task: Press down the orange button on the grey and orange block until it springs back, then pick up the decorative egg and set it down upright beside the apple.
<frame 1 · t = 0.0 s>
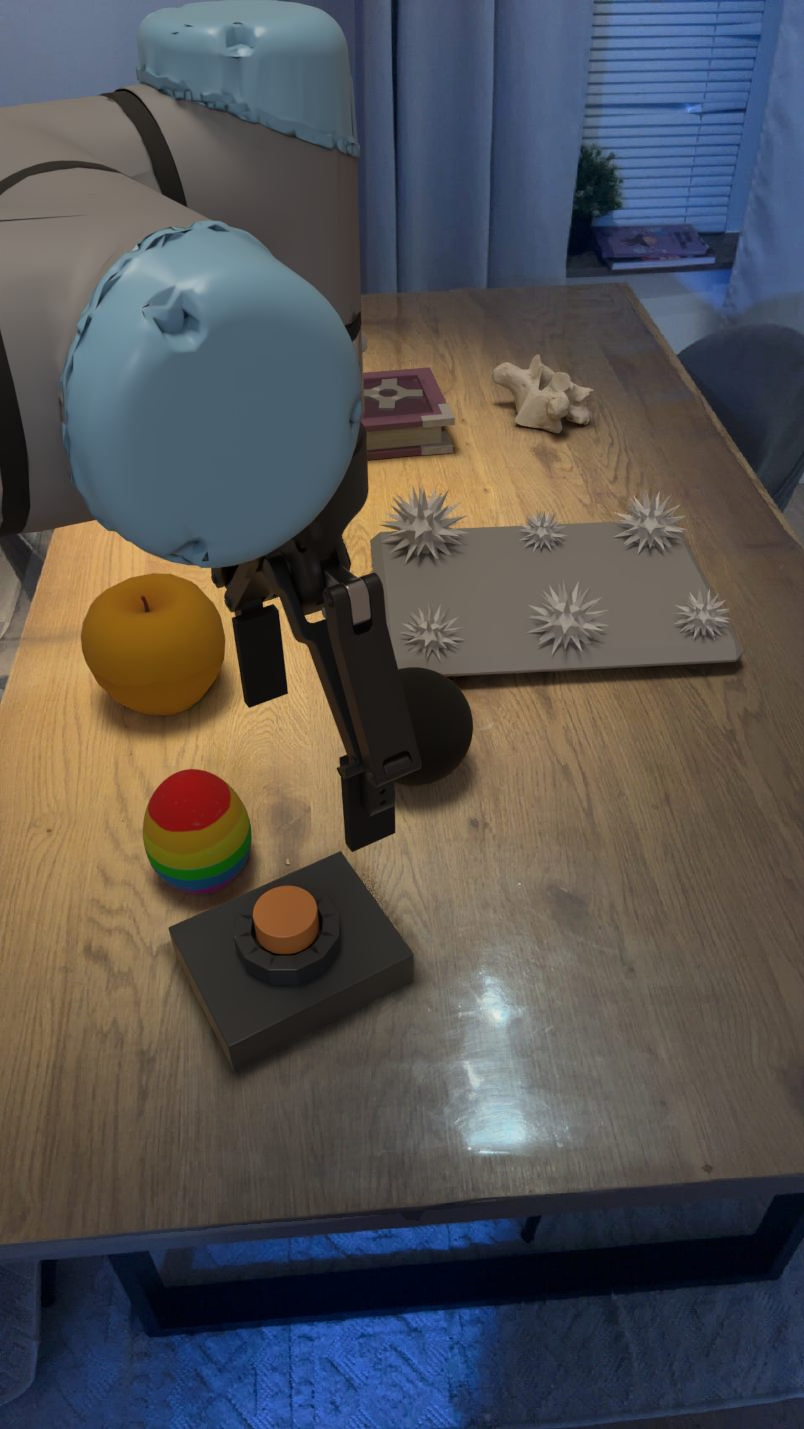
hand: (314, 763, 59), 21 cm above the table, tool pointing down, fingers open, 13 cm apart
speaker: (301, 519, 120), on the table
decorative ball: (414, 770, 89), on the table
decorative egg: (205, 868, 81), on the table
decorative tray: (541, 606, 107), on the table
apple: (167, 693, 97), on the table
decorative object: (542, 425, 138), on the table
stacking toy: (193, 401, 145), on the table
book: (349, 435, 136), on the table
orange button: (286, 919, 70), point 6 cm above the table, slide at 0.1 cm
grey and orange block: (292, 966, 74), on the table
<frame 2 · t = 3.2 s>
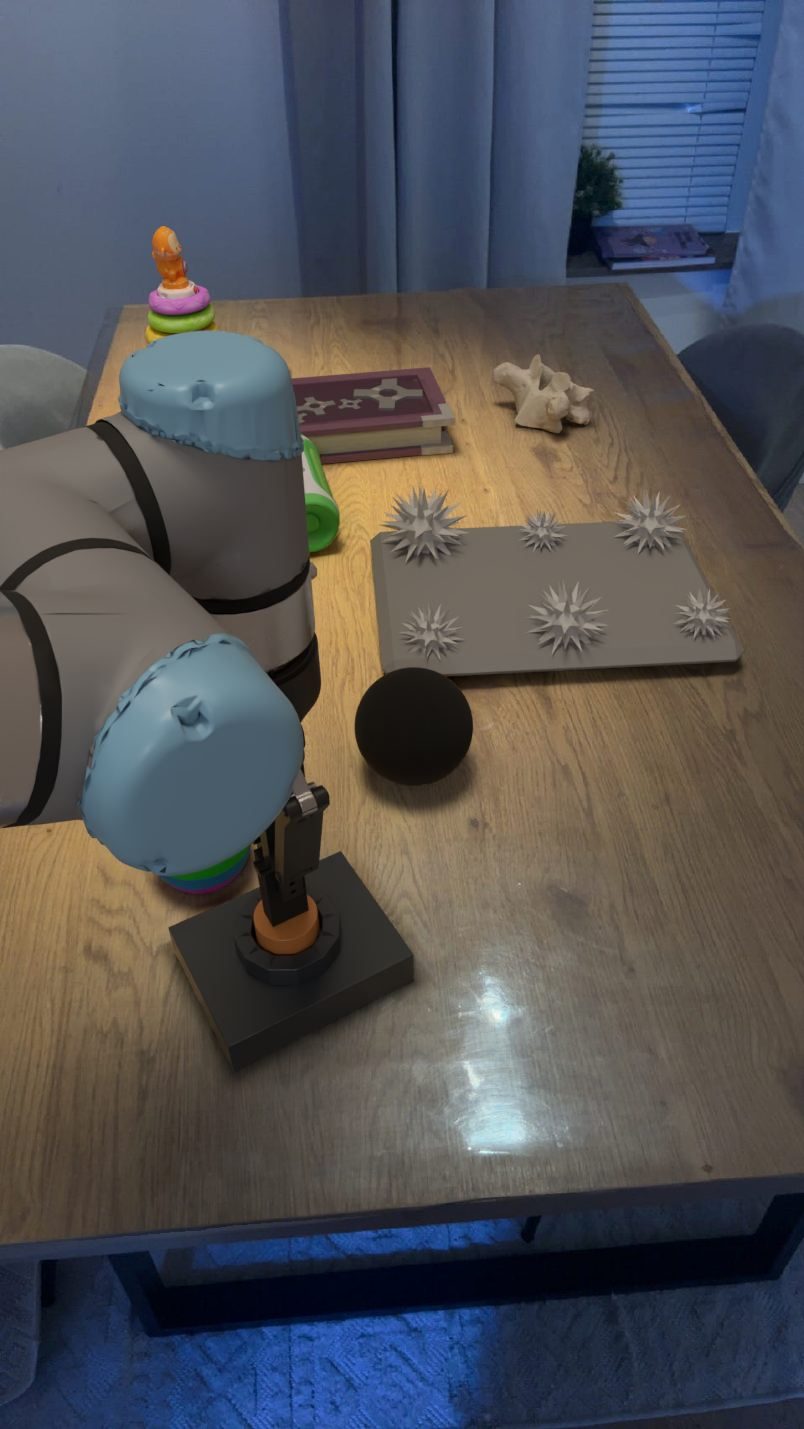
hand: (286, 910, 69), 7 cm above the table, tool pointing down, fingers closed
orange button: (286, 922, 70), point 5 cm above the table, slide at -0.3 cm, touching gripper
everything else where it was.
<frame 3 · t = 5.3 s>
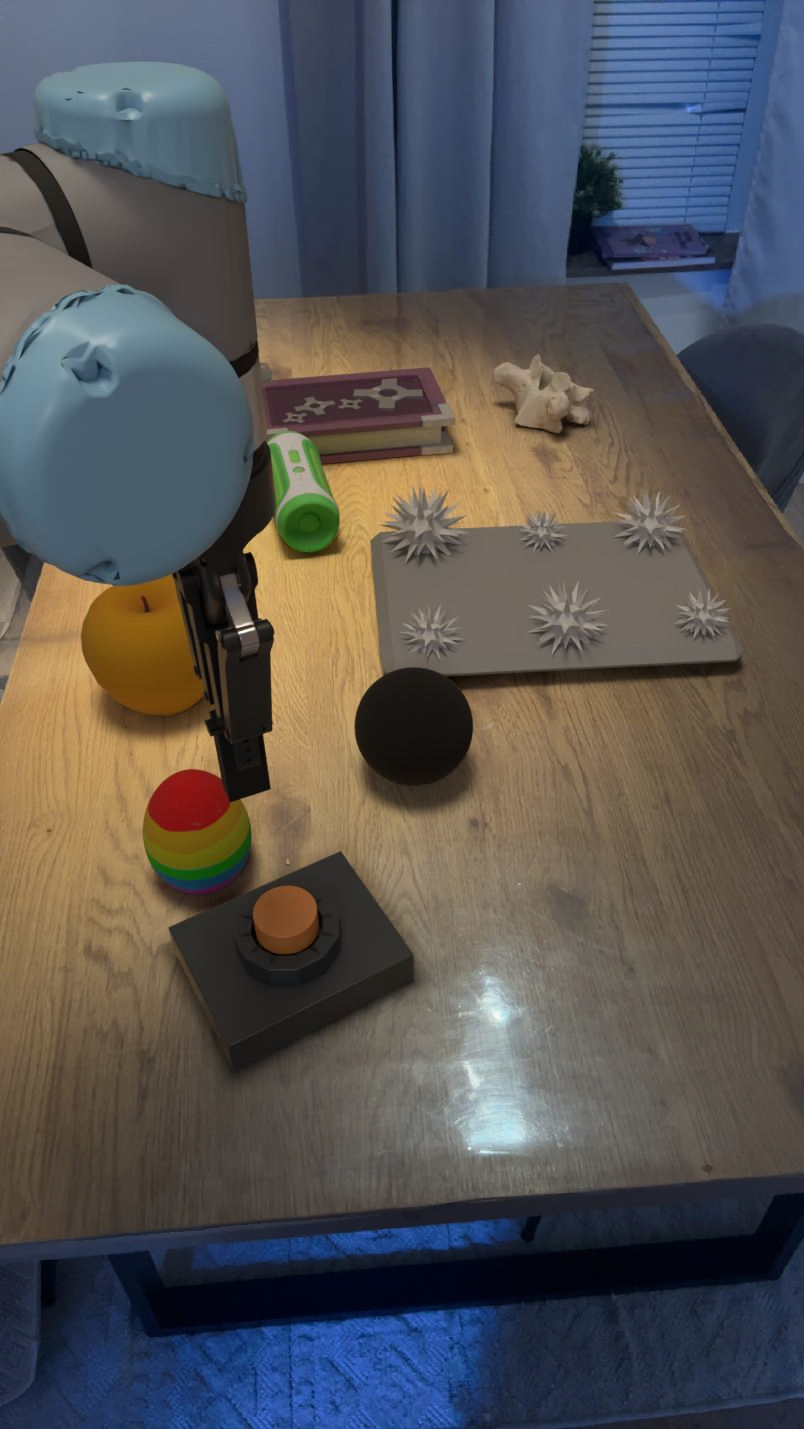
hand: (246, 787, 64), 16 cm above the table, tool pointing down, fingers closed
orange button: (286, 919, 70), point 6 cm above the table, slide at 0.1 cm
everything else where it was.
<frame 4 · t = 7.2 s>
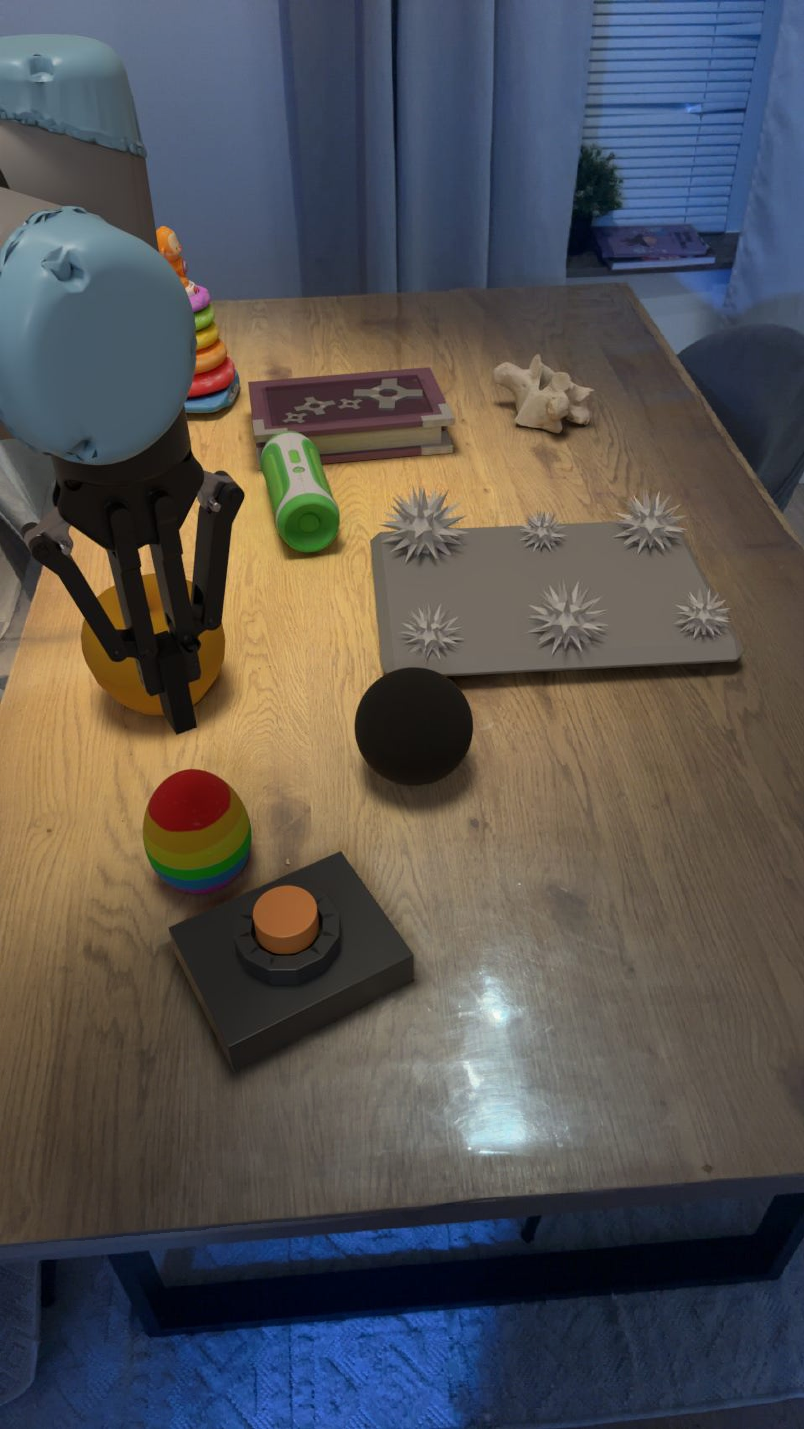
hand: (179, 719, 69), 17 cm above the table, tool pointing down, fingers closed
nothing on the table moved.
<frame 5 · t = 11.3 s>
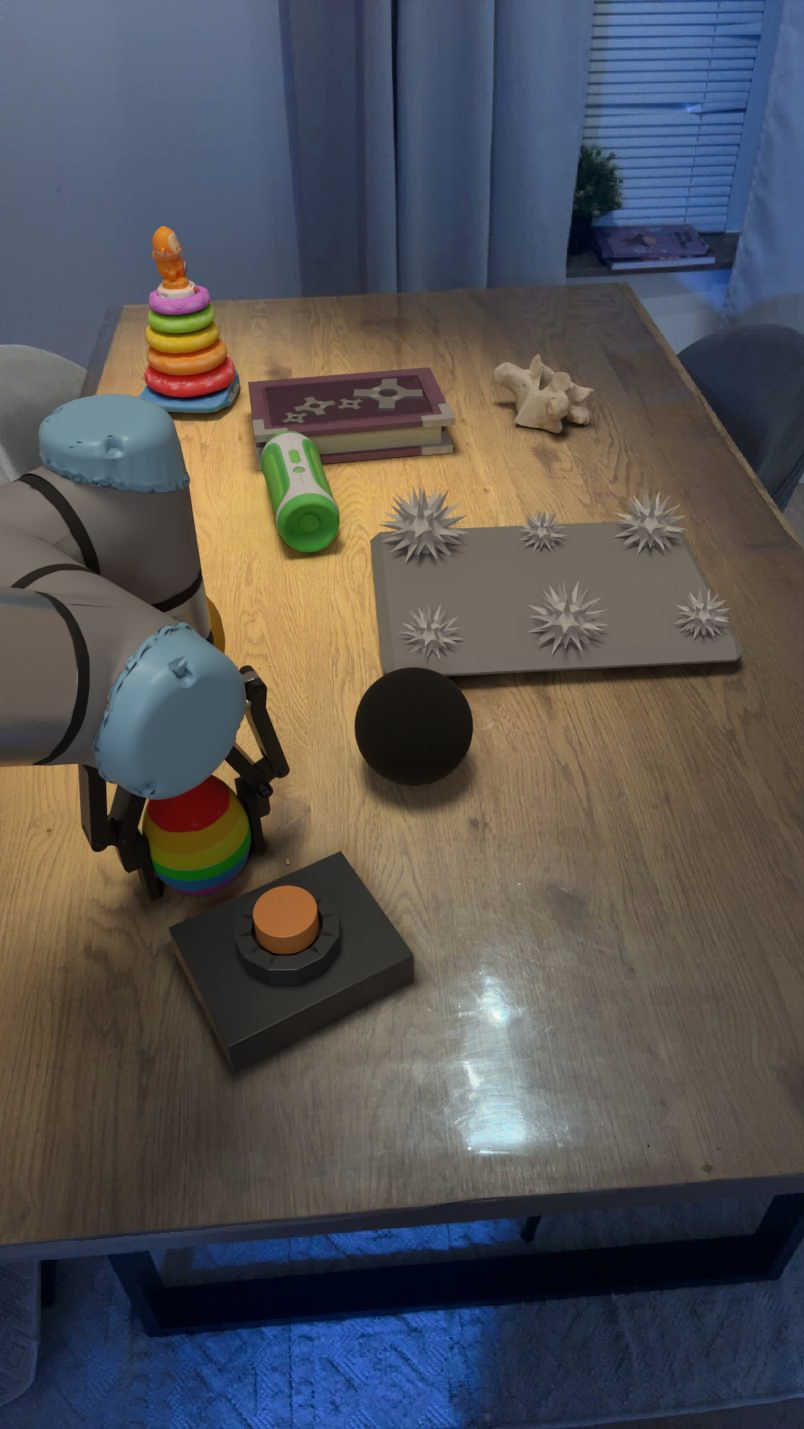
hand: (203, 865, 80), 0 cm above the table, tool pointing down, fingers closed on decorative egg, 8 cm apart
decorative egg: (204, 869, 81), on the table, touching gripper
everything else where it was.
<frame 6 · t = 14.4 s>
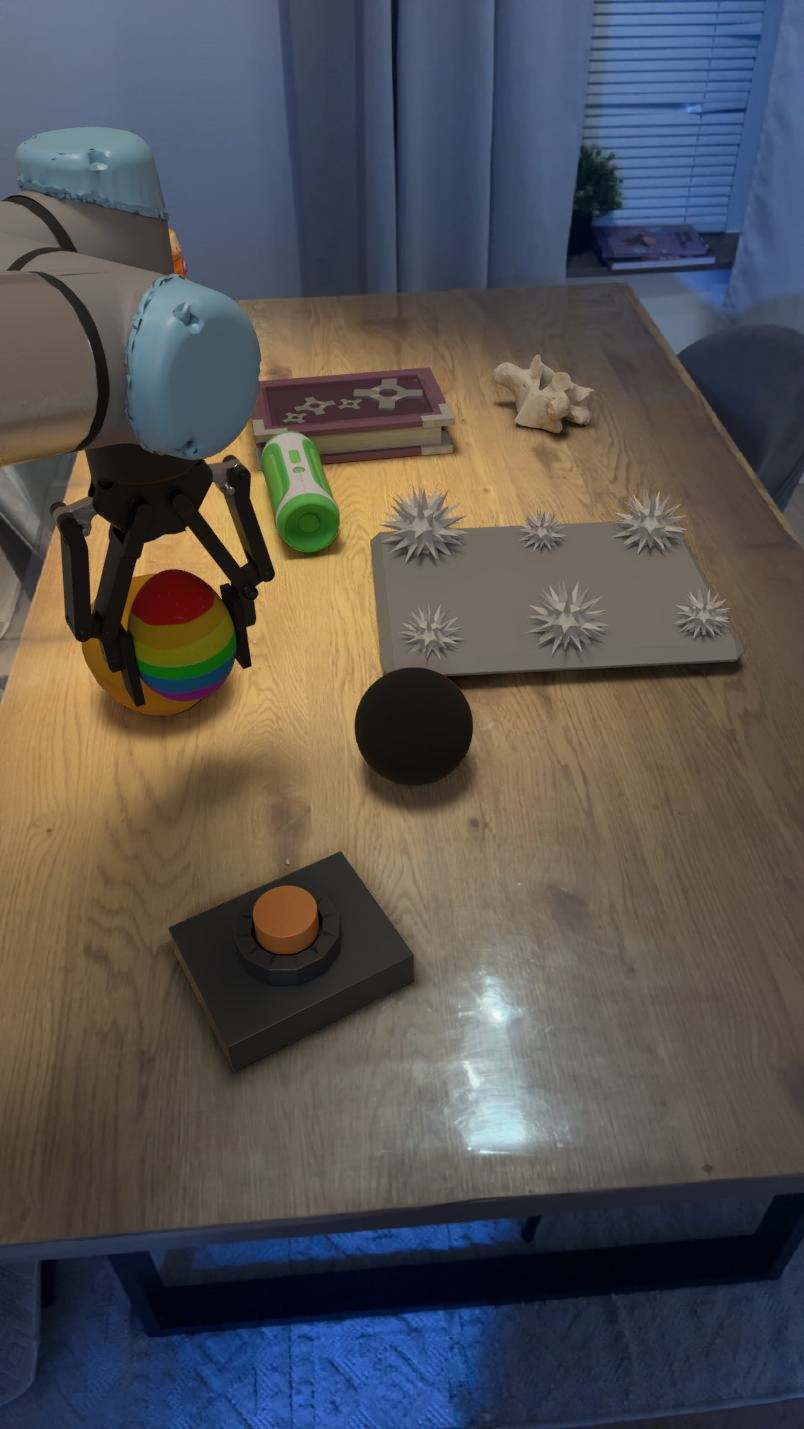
hand: (189, 676, 80), 12 cm above the table, tool pointing down, fingers closed on decorative egg, 8 cm apart
decorative egg: (190, 681, 81), point 11 cm above the table, touching gripper
everything else where it was.
when the fingers open (0 cm above the table, at t = 17.3 s): decorative egg stays where it is, on the table.
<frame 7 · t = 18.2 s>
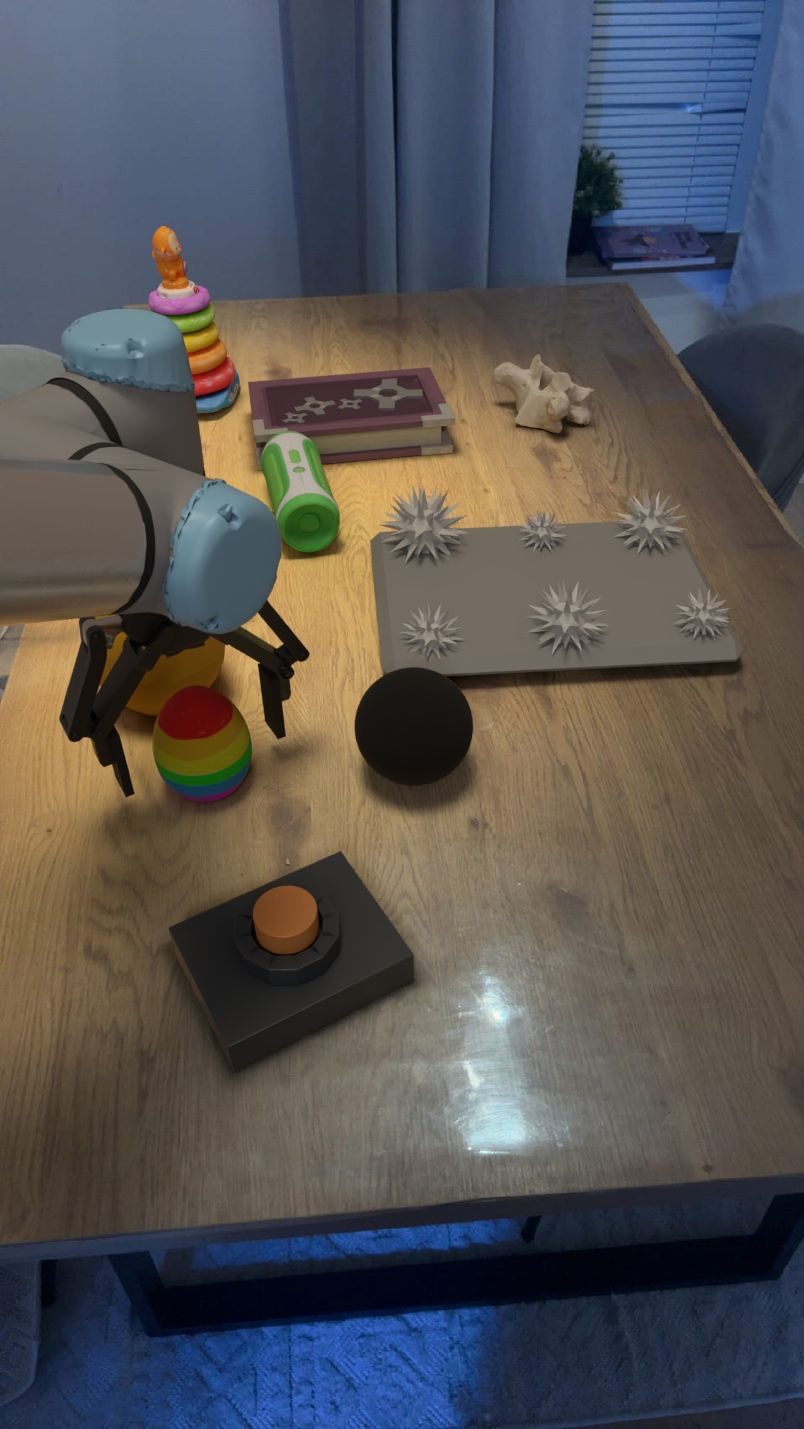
hand: (202, 756, 86), 3 cm above the table, tool pointing down, fingers open, 13 cm apart
decorative egg: (209, 781, 88), on the table
everything else where it was.
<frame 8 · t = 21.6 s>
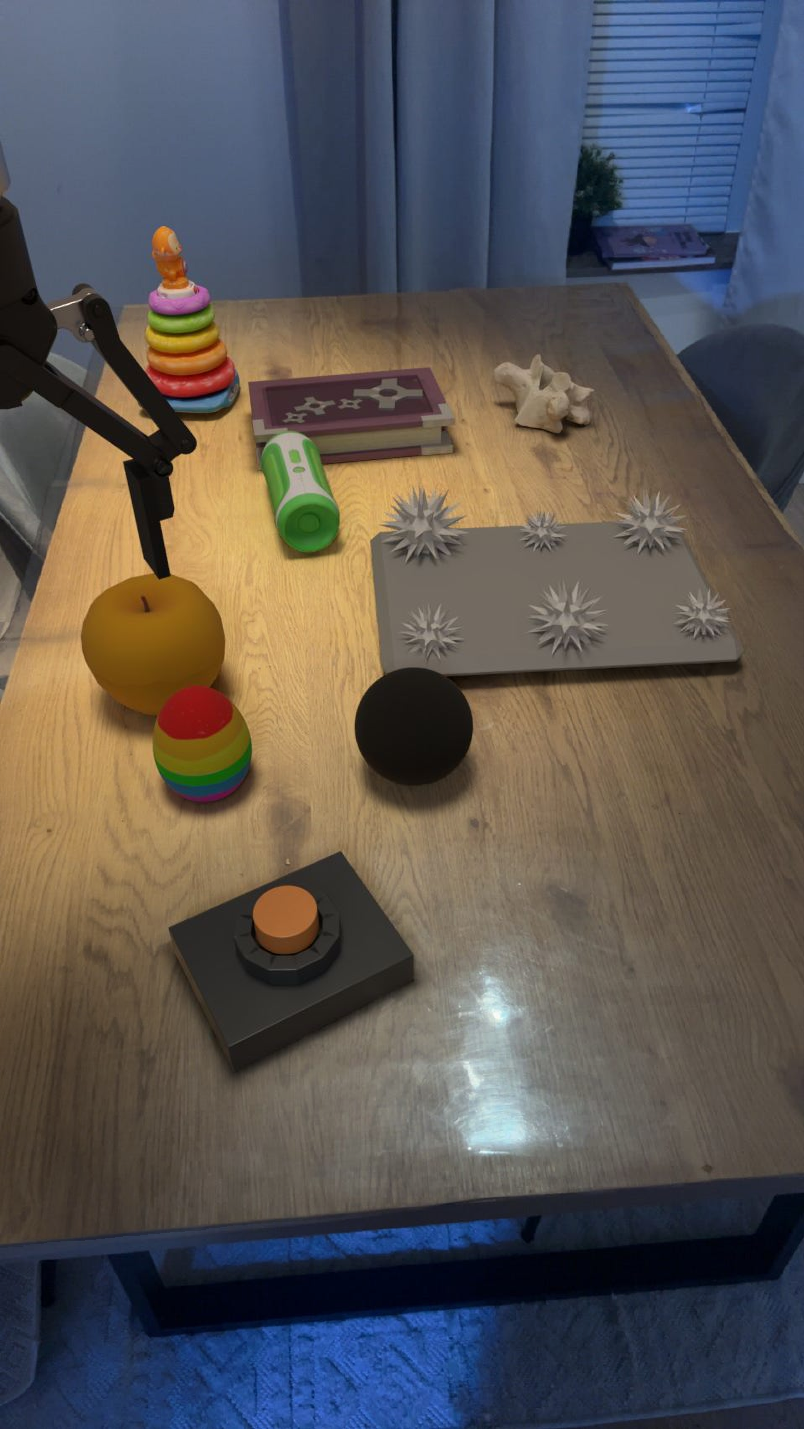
hand: (45, 601, 59), 29 cm above the table, tool pointing down, fingers open, 13 cm apart
nothing on the table moved.
at the end: orange button pushed in 1.0 cm at the most during the clip, back to where it started at the end; orange button slide at 0.1 cm; decorative egg 13.1 cm from the apple (horizontally) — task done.
